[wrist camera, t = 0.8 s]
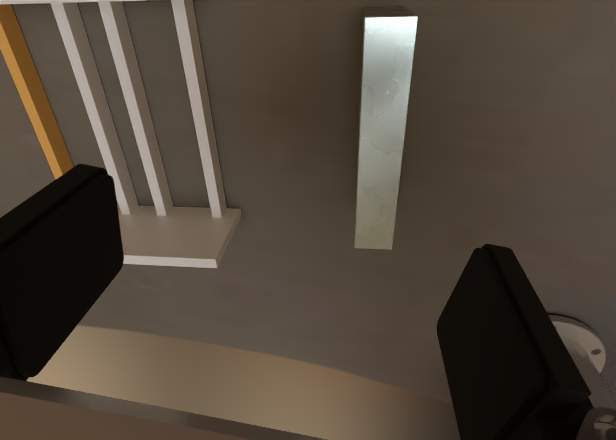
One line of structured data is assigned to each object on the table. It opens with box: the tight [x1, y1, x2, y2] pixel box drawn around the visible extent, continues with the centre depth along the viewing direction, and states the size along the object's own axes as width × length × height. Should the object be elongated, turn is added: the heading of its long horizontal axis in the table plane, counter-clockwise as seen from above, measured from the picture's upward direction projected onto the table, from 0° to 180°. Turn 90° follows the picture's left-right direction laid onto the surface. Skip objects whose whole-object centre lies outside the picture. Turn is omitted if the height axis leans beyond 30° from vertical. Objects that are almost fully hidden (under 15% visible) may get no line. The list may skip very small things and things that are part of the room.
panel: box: [355, 6, 418, 250], centre depth 25 cm, size 14×2×6 cm, turn 2°
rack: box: [0, 0, 241, 268], centre depth 27 cm, size 18×16×8 cm
